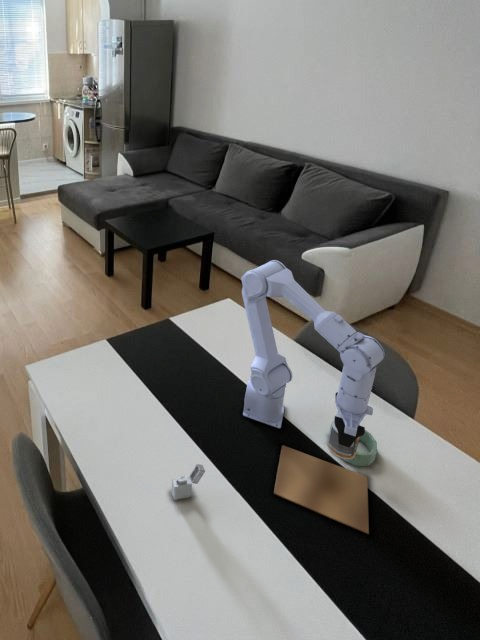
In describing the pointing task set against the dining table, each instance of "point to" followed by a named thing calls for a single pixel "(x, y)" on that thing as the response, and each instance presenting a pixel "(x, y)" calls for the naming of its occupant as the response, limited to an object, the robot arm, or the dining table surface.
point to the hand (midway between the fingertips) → (344, 434)
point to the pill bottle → (336, 447)
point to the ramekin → (365, 458)
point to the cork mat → (323, 488)
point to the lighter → (186, 483)
